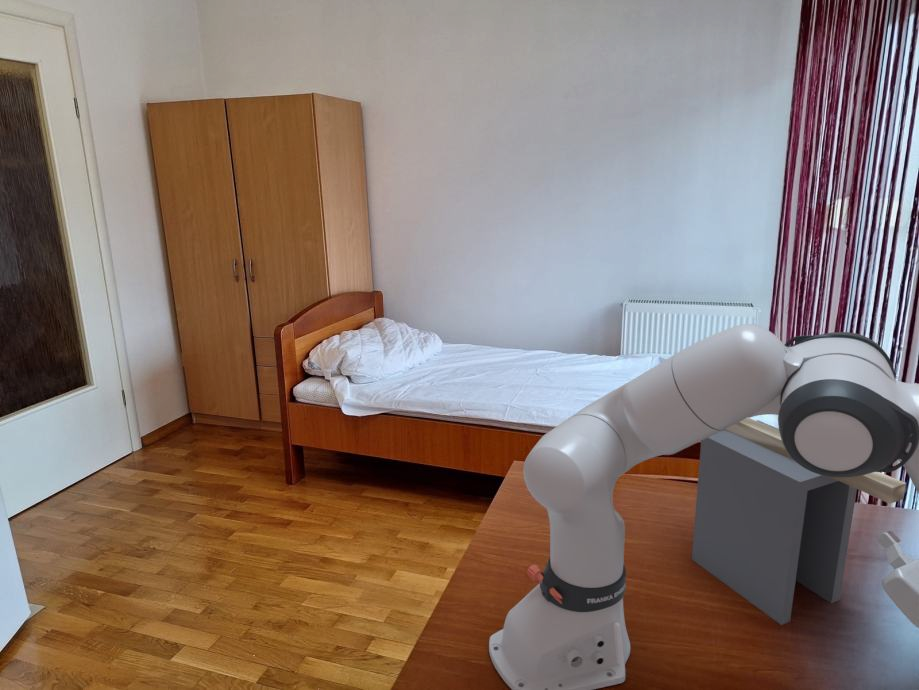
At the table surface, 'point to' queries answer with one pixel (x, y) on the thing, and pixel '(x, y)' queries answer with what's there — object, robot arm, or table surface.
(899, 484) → the birch beam
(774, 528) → the charcoal shelf
